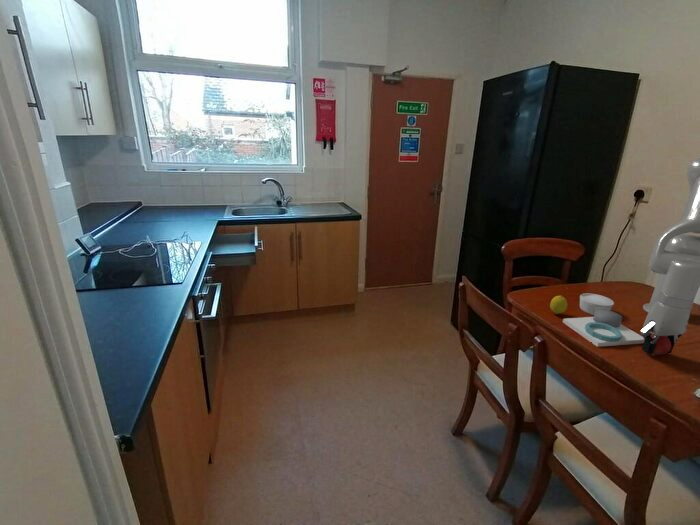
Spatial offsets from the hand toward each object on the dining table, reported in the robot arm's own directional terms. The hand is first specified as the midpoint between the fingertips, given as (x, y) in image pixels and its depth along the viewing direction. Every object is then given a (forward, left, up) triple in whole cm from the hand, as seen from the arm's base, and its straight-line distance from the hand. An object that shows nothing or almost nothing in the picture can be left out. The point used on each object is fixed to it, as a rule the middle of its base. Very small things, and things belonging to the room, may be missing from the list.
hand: (656, 351), depth 108 cm
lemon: (+13, -28, -1) cm, 31 cm away
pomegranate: (0, 0, -1) cm, 1 cm away
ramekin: (-4, -29, -2) cm, 29 cm away
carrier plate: (+6, -14, -1) cm, 15 cm away
